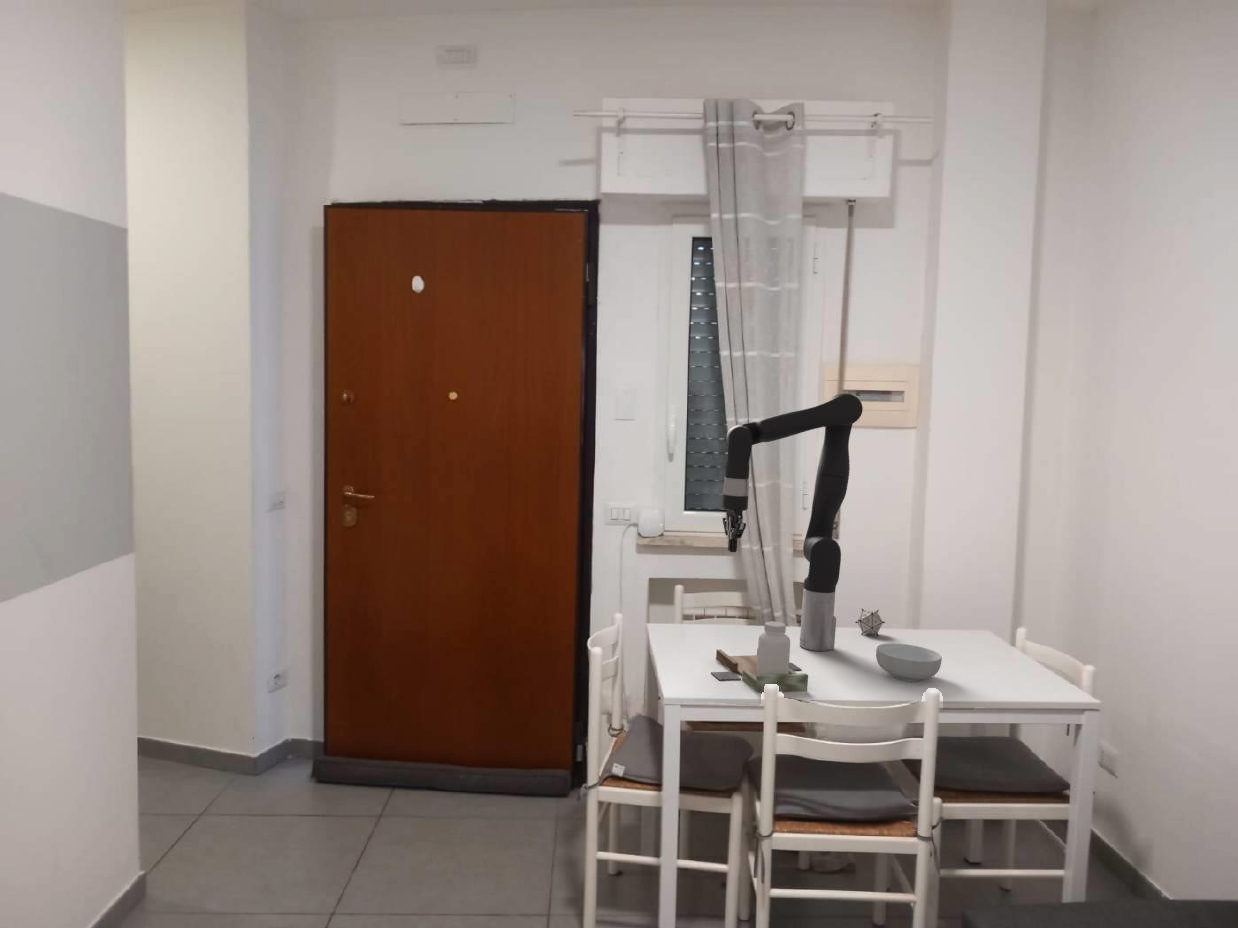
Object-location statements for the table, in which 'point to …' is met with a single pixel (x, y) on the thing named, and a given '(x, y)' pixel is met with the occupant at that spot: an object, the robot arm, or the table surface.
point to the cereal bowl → (908, 661)
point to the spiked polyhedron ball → (870, 622)
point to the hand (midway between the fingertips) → (732, 551)
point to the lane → (749, 675)
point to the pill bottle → (773, 650)
